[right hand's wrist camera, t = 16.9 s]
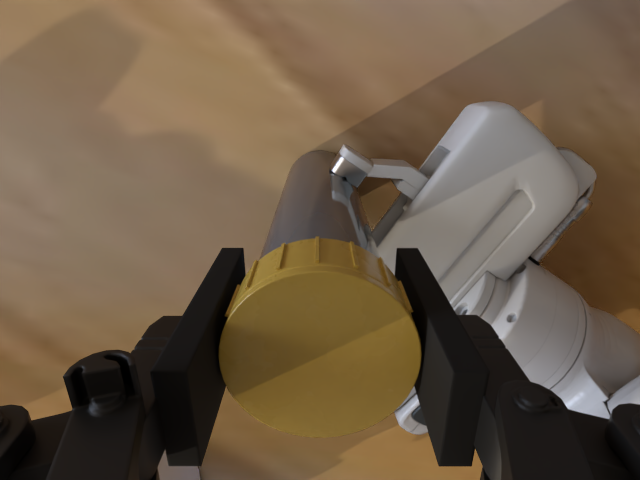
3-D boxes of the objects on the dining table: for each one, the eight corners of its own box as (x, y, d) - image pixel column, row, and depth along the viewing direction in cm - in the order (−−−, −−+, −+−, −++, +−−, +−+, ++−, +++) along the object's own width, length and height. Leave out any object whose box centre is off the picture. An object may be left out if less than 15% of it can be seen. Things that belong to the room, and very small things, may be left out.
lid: (417, 370, 13) (435, 424, 11) (259, 397, 14) (248, 453, 12) (394, 218, 11) (410, 249, 9) (210, 256, 12) (186, 293, 10)
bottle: (276, 196, 29) (208, 375, 11) (306, 138, 28) (280, 240, 10) (333, 225, 30) (351, 433, 12) (365, 170, 28) (439, 316, 11)
